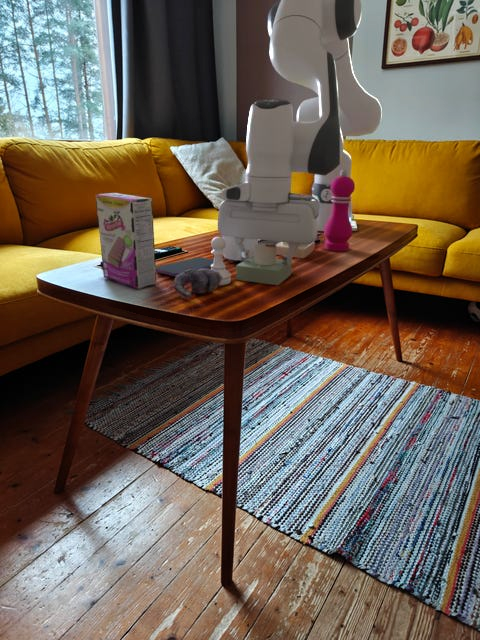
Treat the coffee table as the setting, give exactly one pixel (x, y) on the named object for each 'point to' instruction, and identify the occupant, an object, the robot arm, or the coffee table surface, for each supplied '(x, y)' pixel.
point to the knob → (265, 254)
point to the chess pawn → (220, 259)
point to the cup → (233, 252)
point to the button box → (299, 253)
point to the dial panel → (263, 272)
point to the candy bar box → (127, 239)
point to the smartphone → (184, 266)
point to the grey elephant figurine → (197, 281)
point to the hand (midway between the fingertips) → (265, 261)
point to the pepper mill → (339, 214)
